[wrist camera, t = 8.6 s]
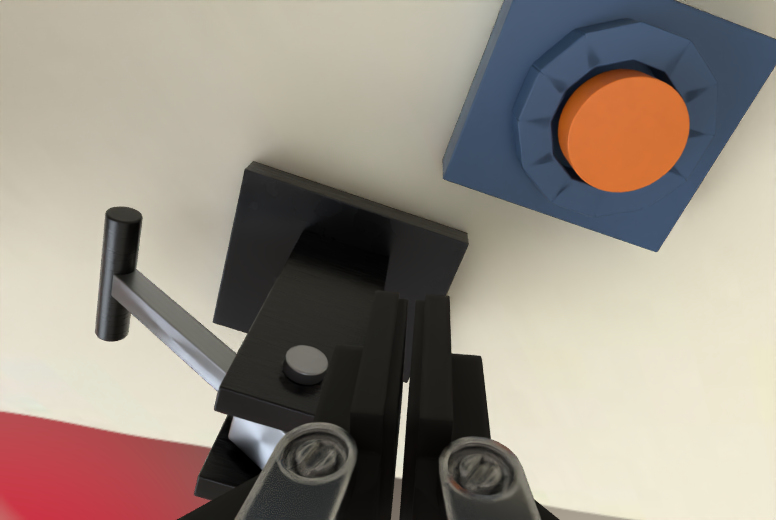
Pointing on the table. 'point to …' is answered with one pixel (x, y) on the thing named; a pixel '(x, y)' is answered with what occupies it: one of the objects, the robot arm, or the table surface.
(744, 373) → the table surface
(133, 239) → the lever
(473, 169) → the control block
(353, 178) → the table surface
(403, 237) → the lever bracket
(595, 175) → the button
